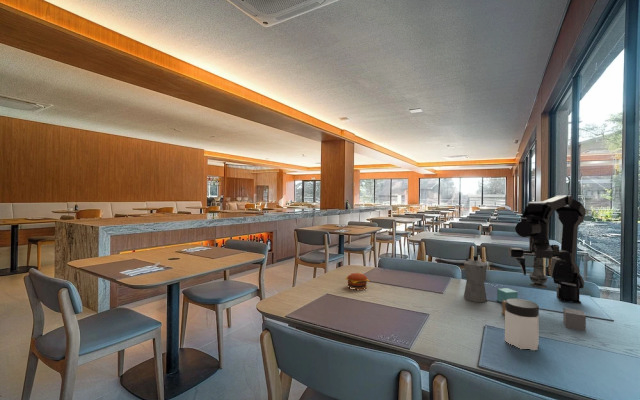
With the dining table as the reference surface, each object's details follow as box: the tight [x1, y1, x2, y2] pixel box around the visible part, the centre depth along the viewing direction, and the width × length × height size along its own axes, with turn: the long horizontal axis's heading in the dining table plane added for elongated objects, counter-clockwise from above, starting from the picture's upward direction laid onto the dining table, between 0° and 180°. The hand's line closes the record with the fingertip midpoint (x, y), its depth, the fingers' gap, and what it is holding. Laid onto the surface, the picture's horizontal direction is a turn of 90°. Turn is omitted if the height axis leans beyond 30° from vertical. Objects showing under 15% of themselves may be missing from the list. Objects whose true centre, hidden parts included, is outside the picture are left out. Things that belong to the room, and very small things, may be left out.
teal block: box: [496, 287, 519, 304], centre depth 122 cm, size 5×5×5 cm
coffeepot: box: [463, 255, 488, 303], centre depth 128 cm, size 15×9×18 cm, turn 176°
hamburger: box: [344, 272, 370, 290], centre depth 143 cm, size 9×10×7 cm
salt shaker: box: [528, 256, 549, 289], centre depth 113 cm, size 6×6×12 cm
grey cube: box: [562, 307, 587, 332], centre depth 100 cm, size 5×5×5 cm
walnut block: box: [501, 300, 506, 316], centre depth 108 cm, size 5×5×5 cm
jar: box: [504, 298, 540, 351], centre depth 88 cm, size 9×8×12 cm
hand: (538, 276), depth 113 cm, fingers closed on salt shaker, 8 cm apart
